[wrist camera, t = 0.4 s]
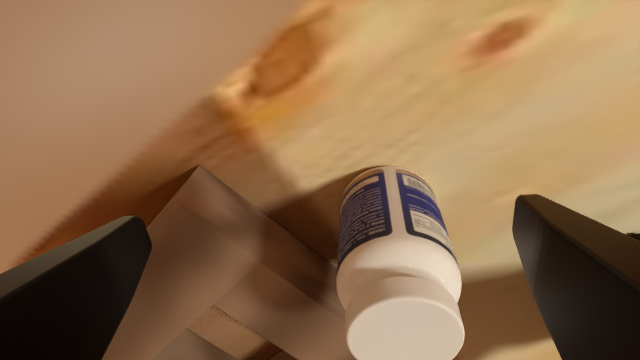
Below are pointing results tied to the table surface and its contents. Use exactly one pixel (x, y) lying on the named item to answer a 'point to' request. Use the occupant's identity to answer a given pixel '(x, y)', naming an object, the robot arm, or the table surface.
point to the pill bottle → (397, 270)
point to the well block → (229, 282)
